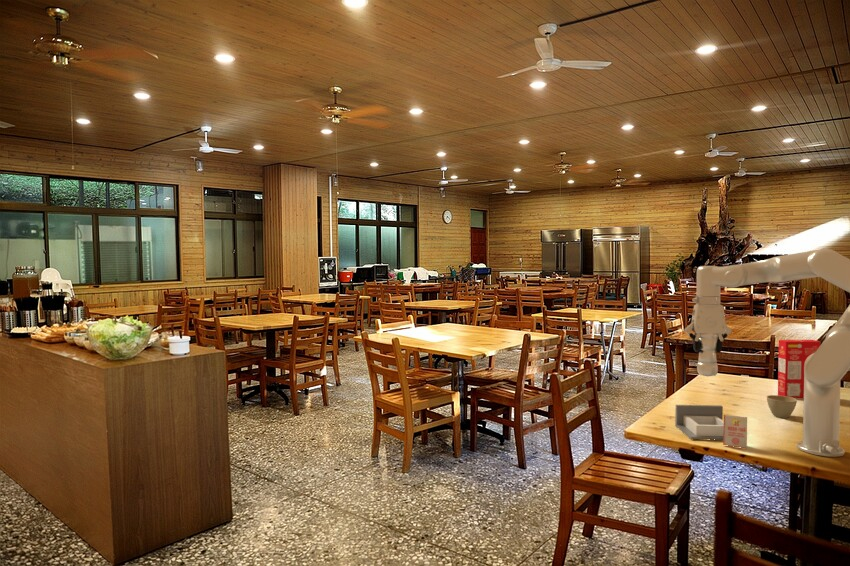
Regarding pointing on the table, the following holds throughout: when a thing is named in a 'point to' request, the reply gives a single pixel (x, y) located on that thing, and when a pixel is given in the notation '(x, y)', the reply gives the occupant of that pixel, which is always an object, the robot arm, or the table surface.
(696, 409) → the housing
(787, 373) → the food packaging
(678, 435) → the table surface
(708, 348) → the plastic bottle
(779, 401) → the flower pot
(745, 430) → the beige printed carton
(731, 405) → the table surface
